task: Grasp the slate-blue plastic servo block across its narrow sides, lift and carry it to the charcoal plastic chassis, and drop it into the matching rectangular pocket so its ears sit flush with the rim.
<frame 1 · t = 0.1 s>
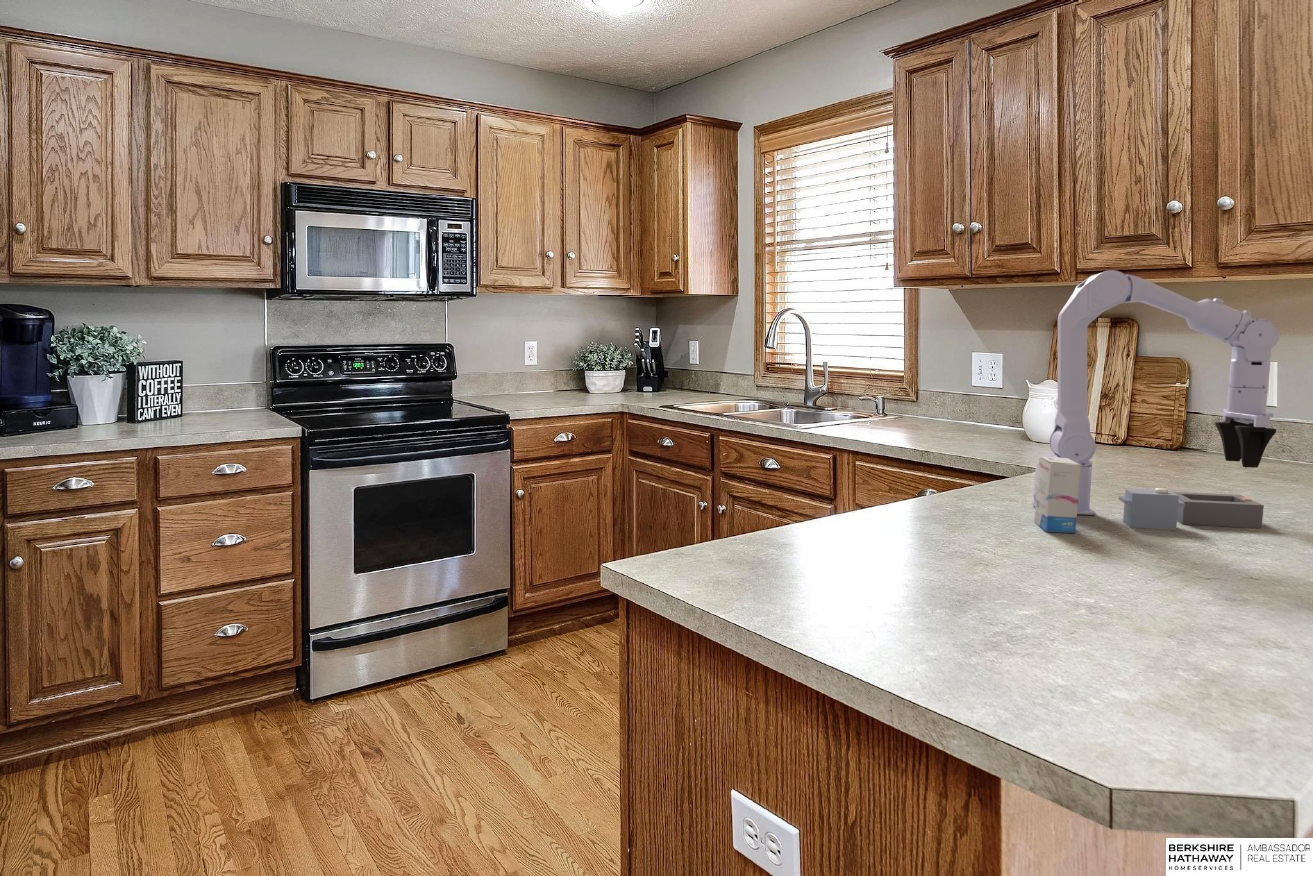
hand: (1241, 464, 150), 10 cm above the counter, fingers open, 7 cm apart
ink box: (1054, 528, 144), on the counter
chassis: (1210, 520, 151), on the counter
servo: (1149, 526, 146), on the counter
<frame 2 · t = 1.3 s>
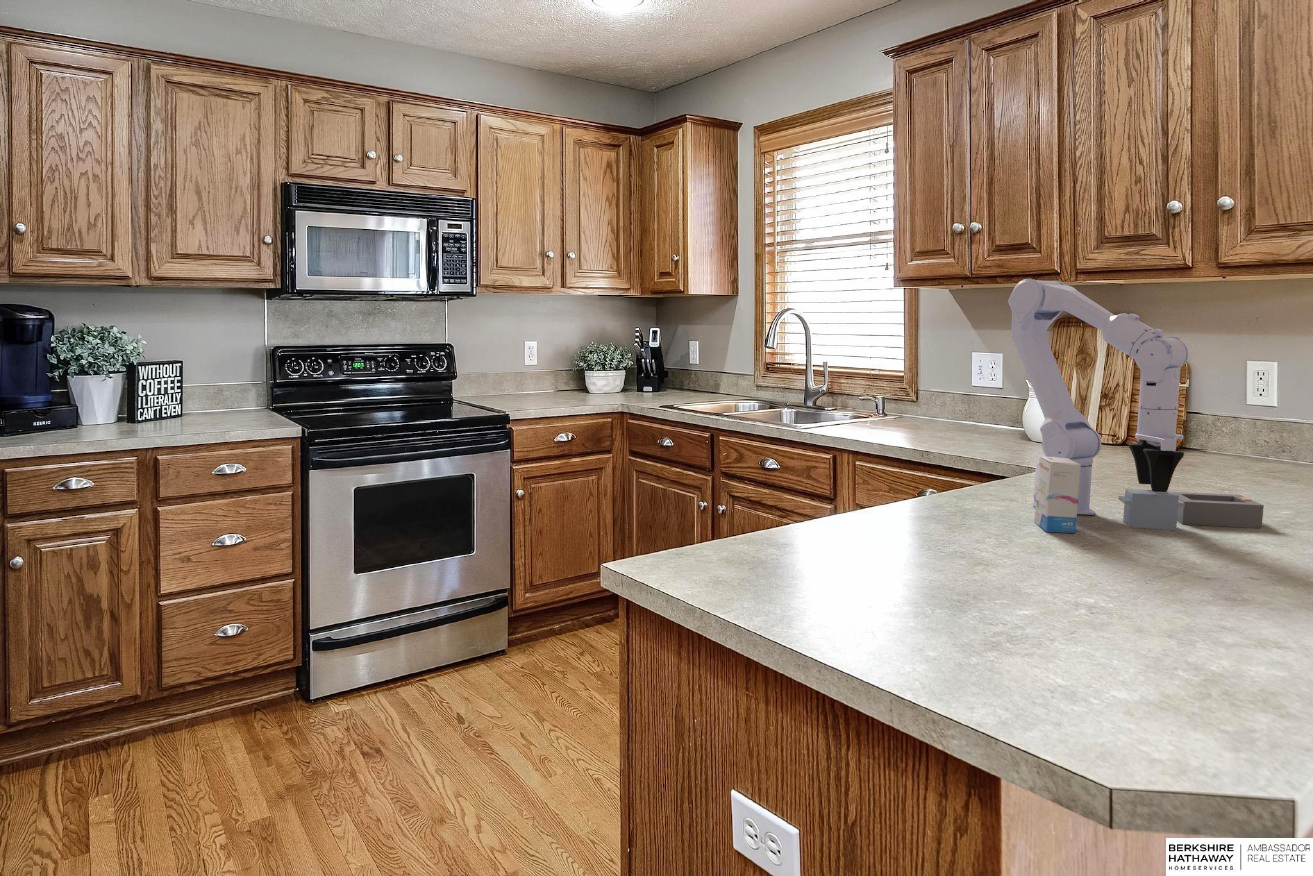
hand: (1152, 487, 145), 7 cm above the counter, fingers open, 7 cm apart
nothing on the counter moved.
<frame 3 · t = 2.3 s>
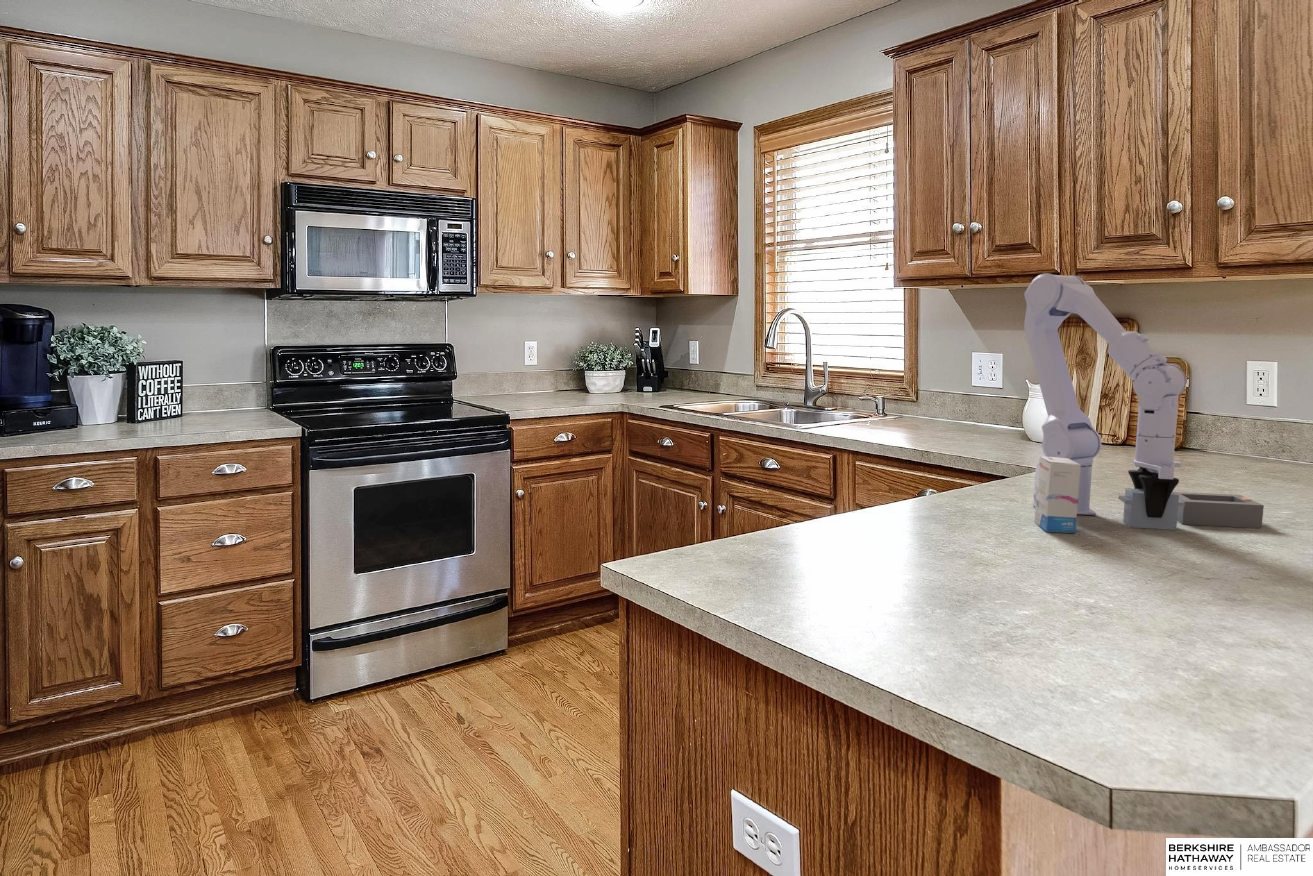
hand: (1150, 514, 146), 2 cm above the counter, fingers closed on servo, 4 cm apart
servo: (1149, 525, 146), on the counter, touching gripper
everything else where it was.
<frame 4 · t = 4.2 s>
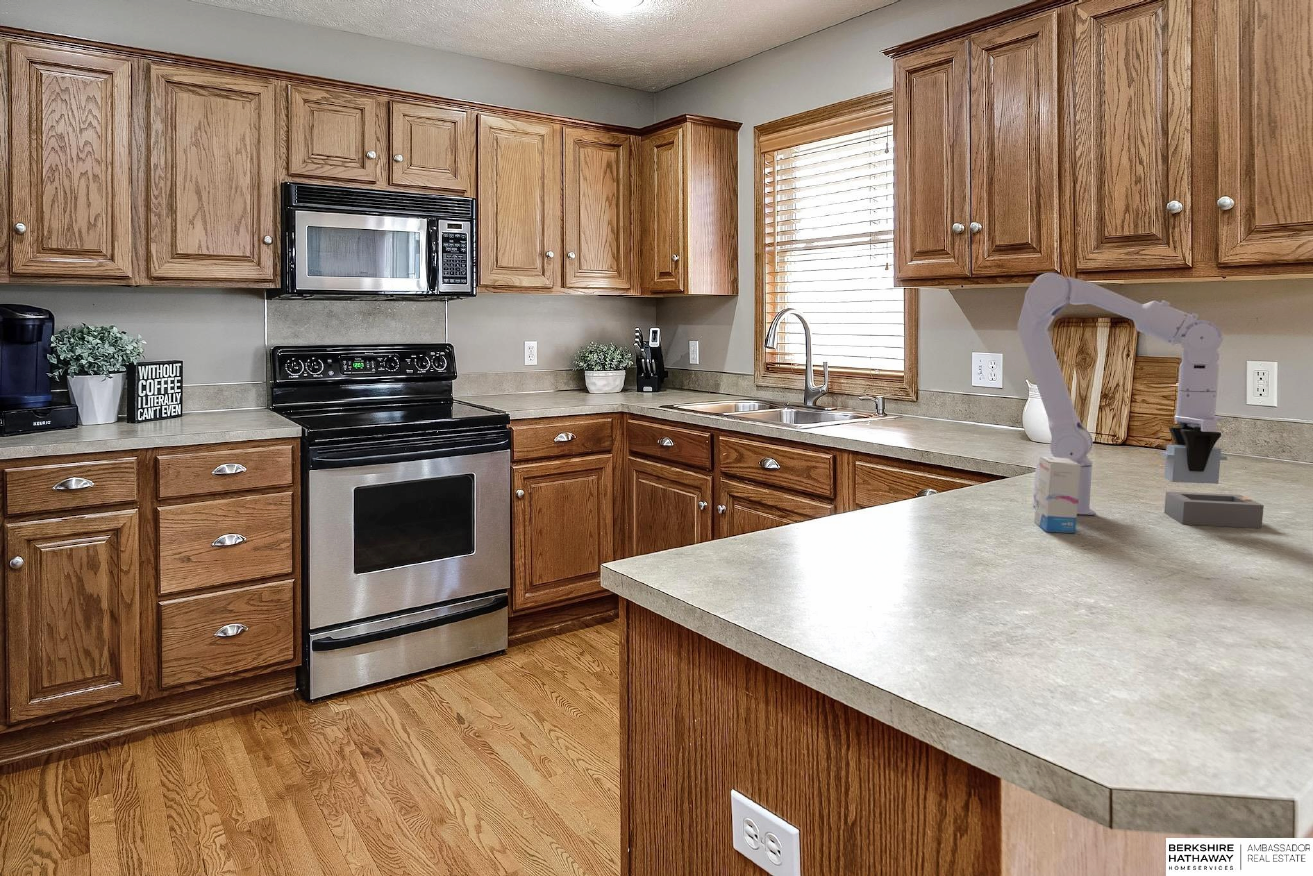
hand: (1191, 469, 147), 9 cm above the counter, fingers closed on servo, 4 cm apart
servo: (1190, 480, 148), point 7 cm above the counter, touching gripper
everything else where it was.
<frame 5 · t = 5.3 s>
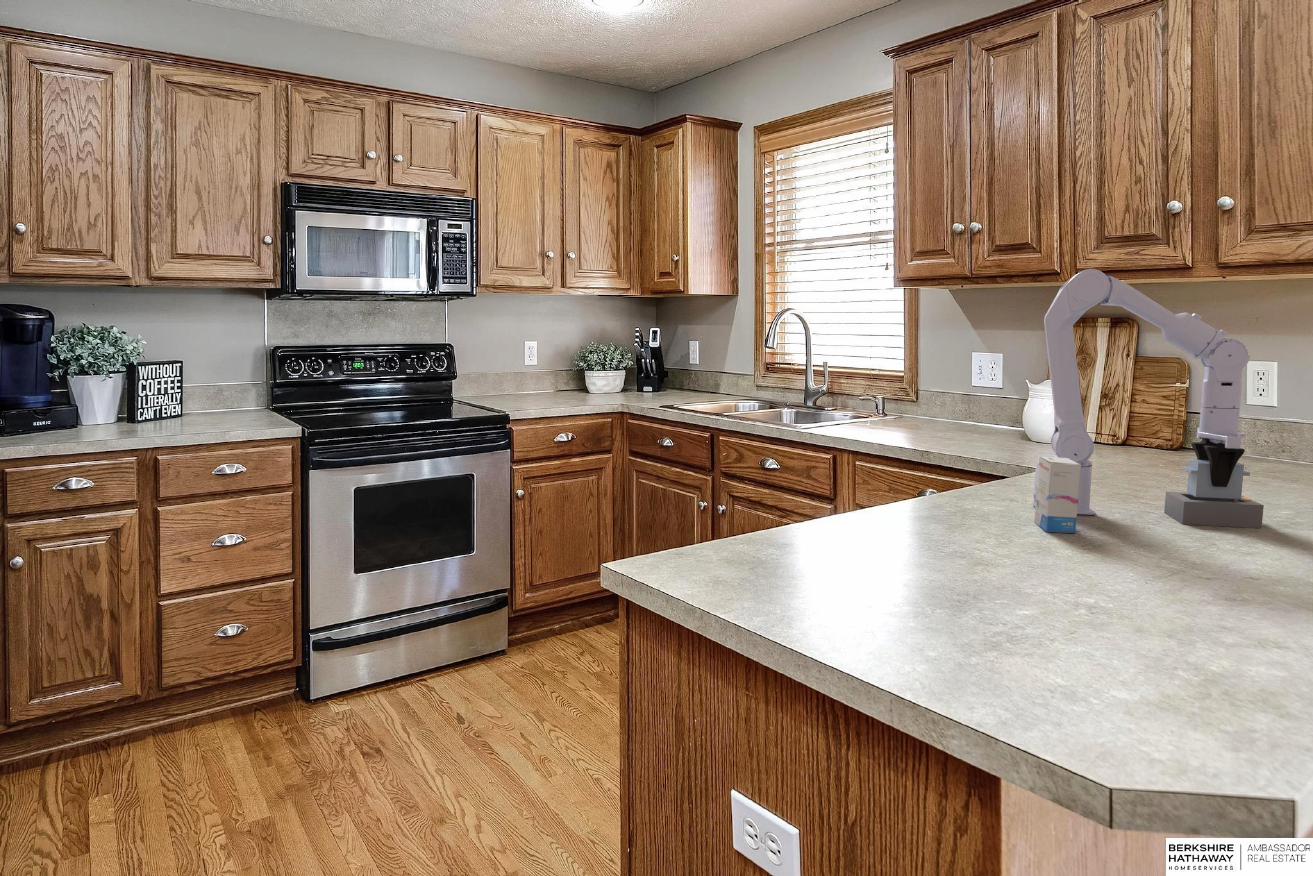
hand: (1214, 484, 150), 6 cm above the counter, fingers closed on servo, 4 cm apart
servo: (1213, 495, 150), point 4 cm above the counter, touching gripper
everything else where it was.
when the fingers open (5 cm above the counter, at t = 6.2 s): servo drops 3 cm, resting on chassis.
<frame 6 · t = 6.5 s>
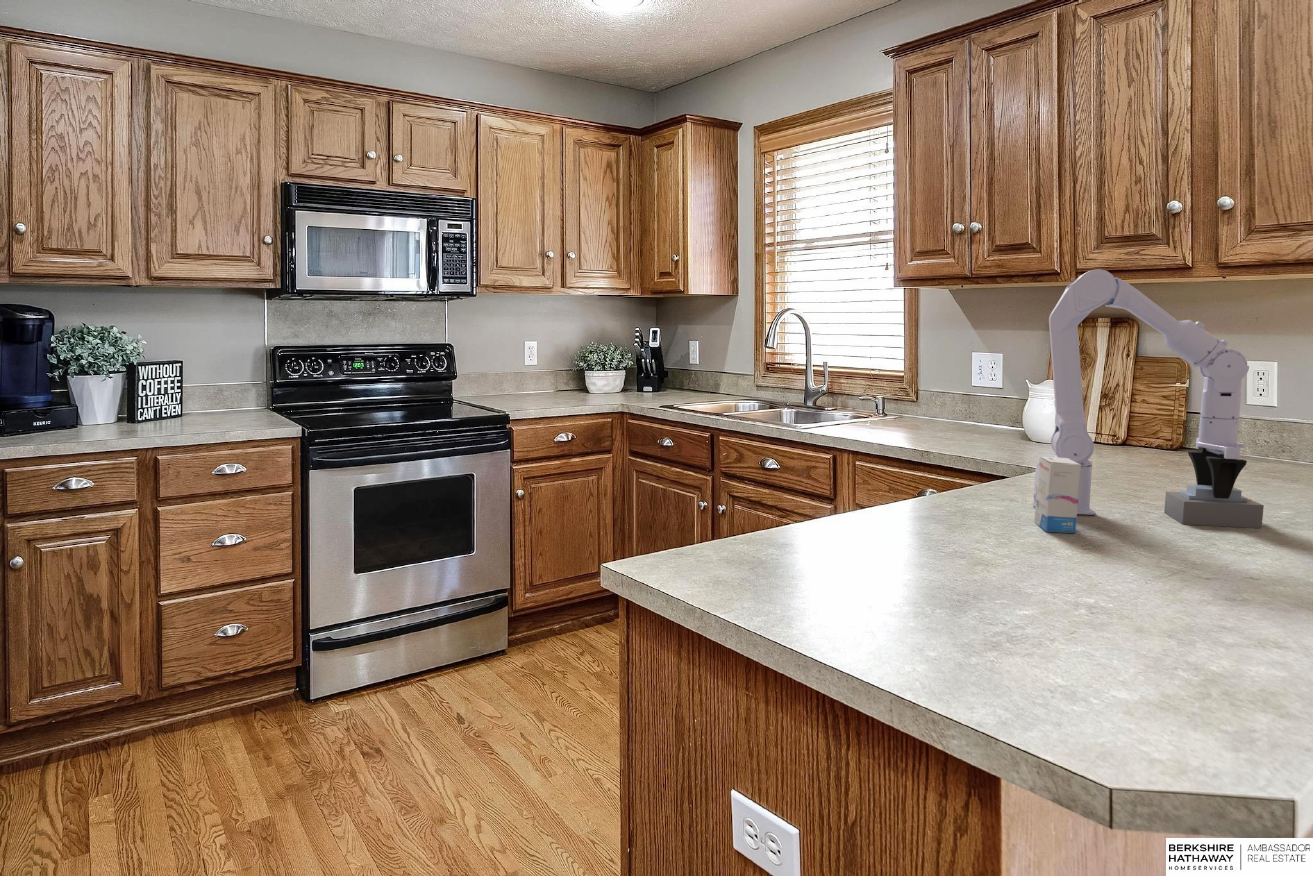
hand: (1213, 494, 150), 5 cm above the counter, fingers open, 7 cm apart
servo: (1211, 520, 150), resting on chassis
everything else where it was.
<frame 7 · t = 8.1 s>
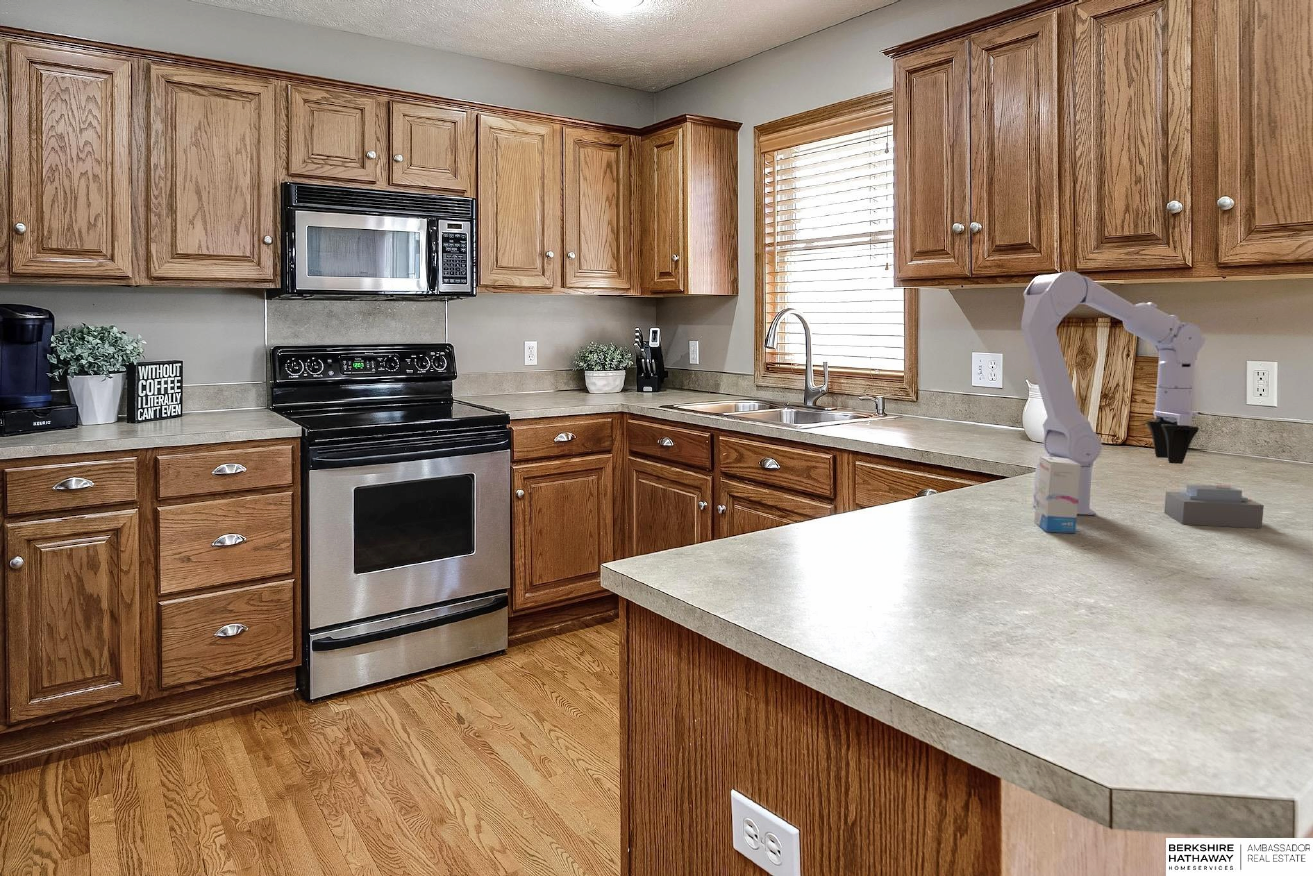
hand: (1168, 460, 158), 9 cm above the counter, fingers open, 7 cm apart
nothing on the counter moved.
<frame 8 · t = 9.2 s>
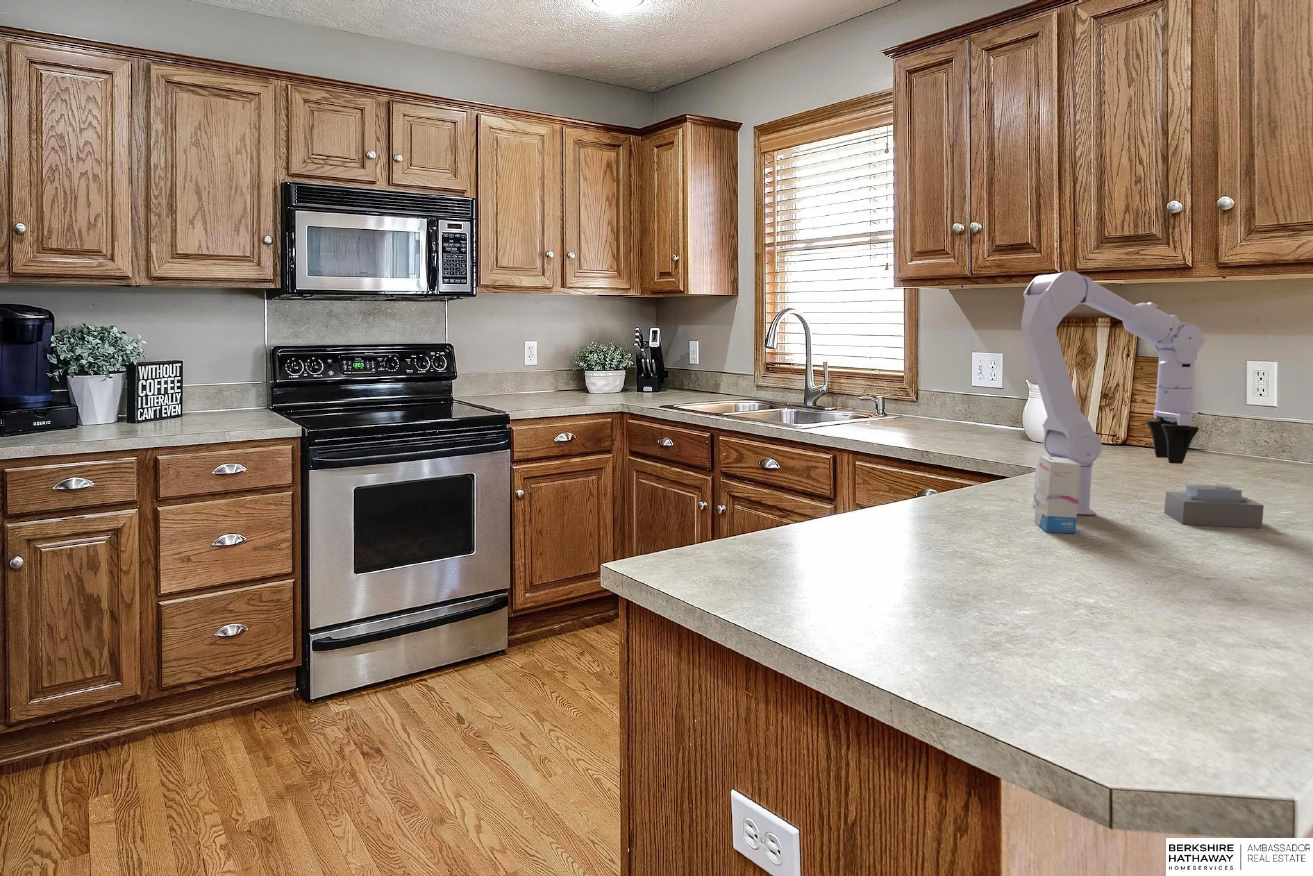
hand: (1168, 460, 158), 9 cm above the counter, fingers open, 7 cm apart
nothing on the counter moved.
at the end: servo 0.0 cm off-centre on the chassis, point 0.0 cm above the chassis's base; servo tilted 0°; the gripper is holding nothing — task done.
